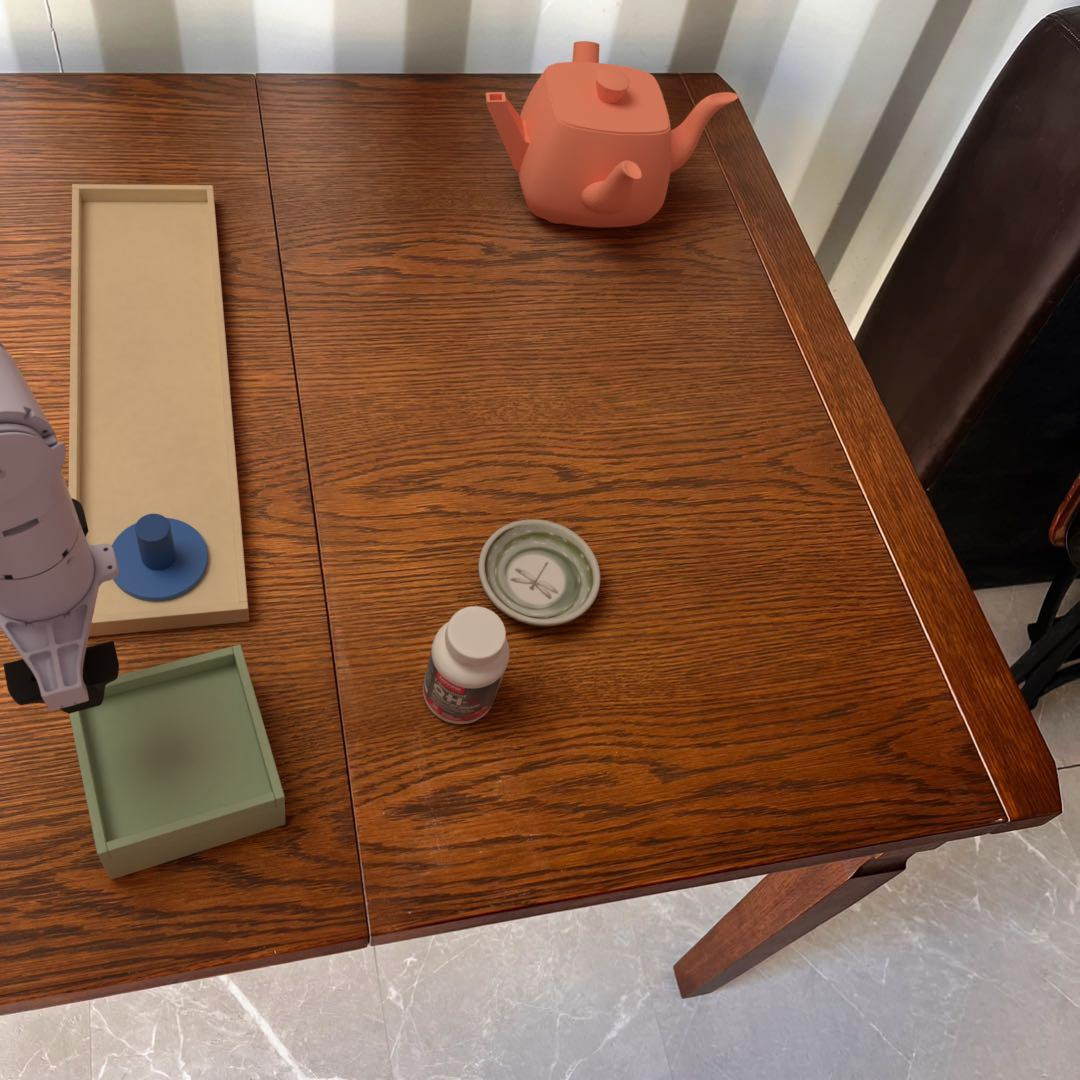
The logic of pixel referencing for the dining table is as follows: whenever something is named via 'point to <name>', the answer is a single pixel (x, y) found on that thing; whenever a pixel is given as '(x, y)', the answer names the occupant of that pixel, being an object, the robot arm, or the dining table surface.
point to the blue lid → (159, 558)
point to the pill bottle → (466, 665)
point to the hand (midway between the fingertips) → (72, 648)
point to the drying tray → (153, 391)
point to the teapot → (597, 141)
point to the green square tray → (176, 762)
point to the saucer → (539, 572)
